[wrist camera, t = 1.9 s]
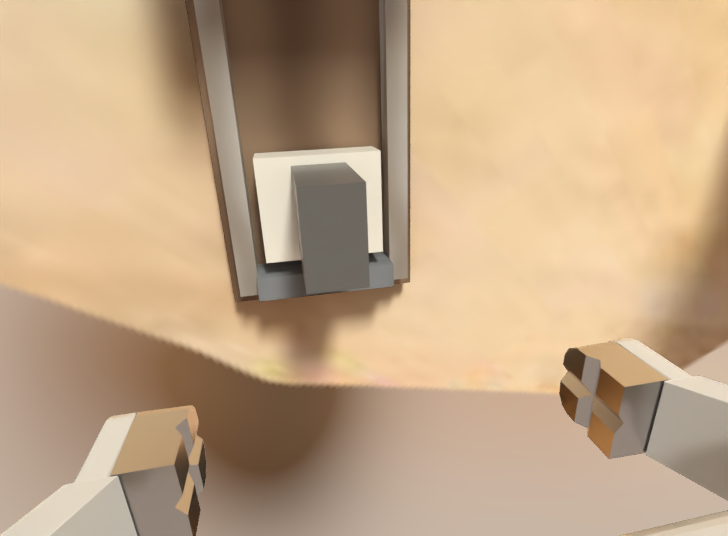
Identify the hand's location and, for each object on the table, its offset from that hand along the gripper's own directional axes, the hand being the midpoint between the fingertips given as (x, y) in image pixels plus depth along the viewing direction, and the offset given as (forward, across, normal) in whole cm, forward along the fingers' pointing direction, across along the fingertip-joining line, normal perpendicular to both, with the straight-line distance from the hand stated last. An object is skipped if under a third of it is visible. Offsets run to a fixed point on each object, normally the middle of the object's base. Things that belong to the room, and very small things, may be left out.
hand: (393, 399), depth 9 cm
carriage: (+20, 0, 0) cm, 20 cm away
